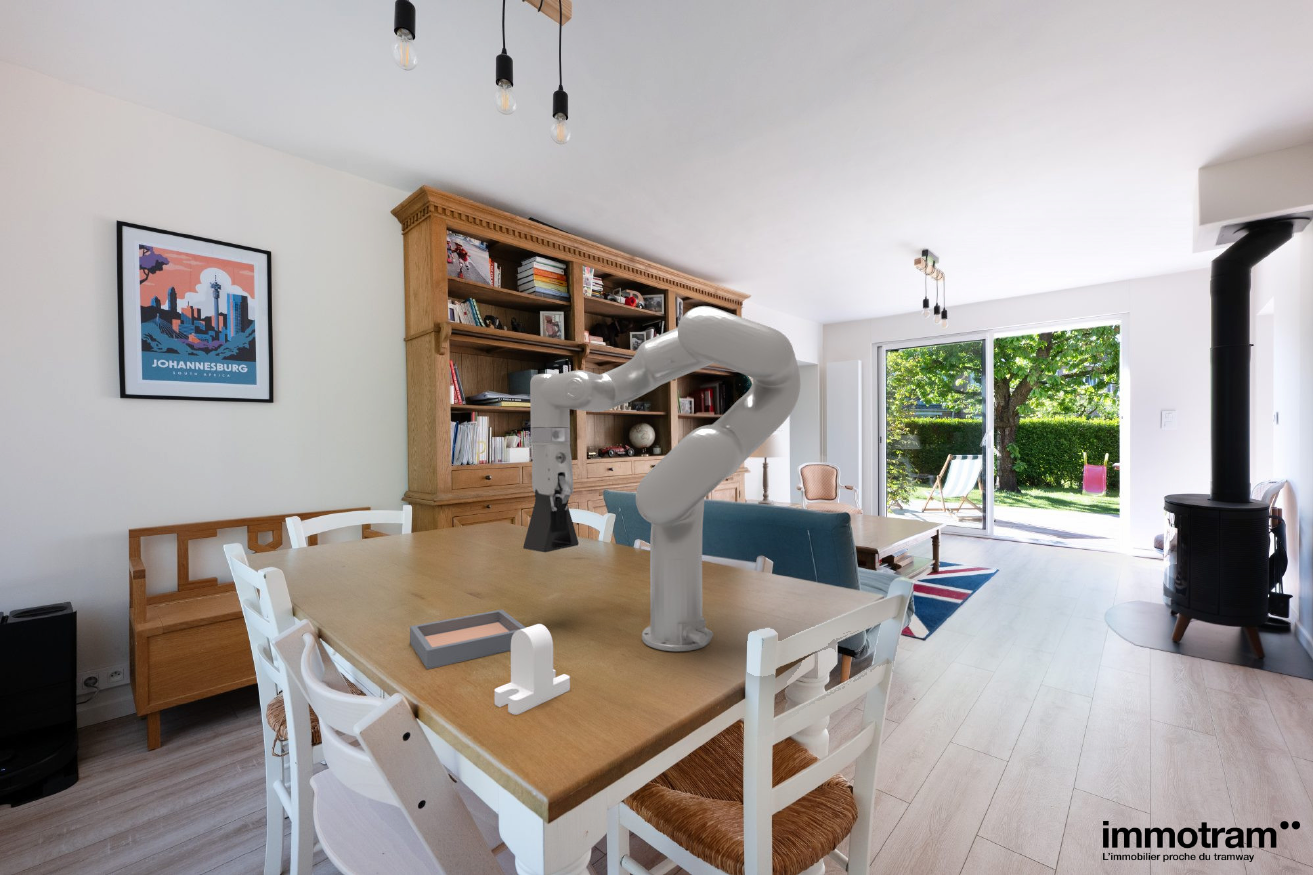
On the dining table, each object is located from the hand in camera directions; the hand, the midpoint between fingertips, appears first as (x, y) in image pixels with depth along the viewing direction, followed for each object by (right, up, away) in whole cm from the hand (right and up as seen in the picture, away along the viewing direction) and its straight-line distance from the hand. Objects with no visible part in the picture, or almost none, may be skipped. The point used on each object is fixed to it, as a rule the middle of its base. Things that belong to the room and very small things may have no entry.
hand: (551, 528), depth 108 cm
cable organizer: (+3, -20, -29) cm, 35 cm away
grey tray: (-13, -19, -9) cm, 25 cm away
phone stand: (0, -4, 0) cm, 4 cm away
